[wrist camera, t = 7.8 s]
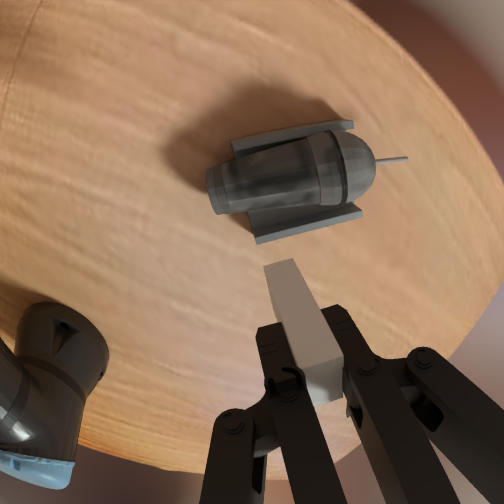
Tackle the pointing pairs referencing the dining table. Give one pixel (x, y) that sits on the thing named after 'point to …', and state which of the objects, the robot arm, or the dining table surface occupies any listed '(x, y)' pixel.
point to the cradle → (298, 217)
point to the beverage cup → (296, 174)
